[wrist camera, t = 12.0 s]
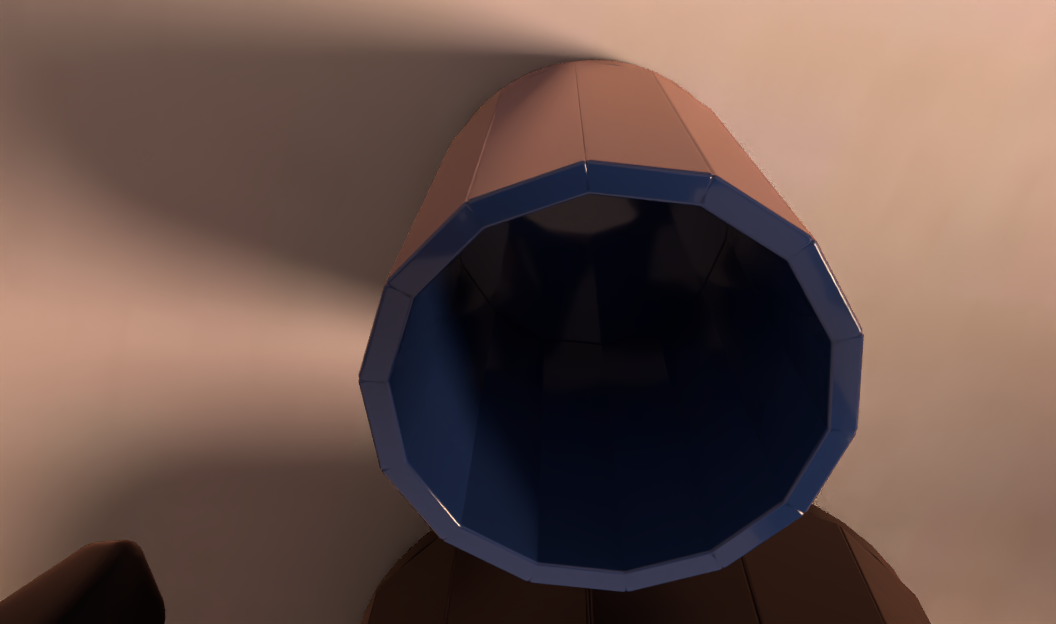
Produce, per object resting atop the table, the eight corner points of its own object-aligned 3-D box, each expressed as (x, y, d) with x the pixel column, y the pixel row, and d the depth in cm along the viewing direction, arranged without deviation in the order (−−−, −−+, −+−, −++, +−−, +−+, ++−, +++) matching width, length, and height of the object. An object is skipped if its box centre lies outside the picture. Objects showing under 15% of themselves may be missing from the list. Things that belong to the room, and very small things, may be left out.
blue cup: (805, 211, 15) (969, 405, 9) (582, 396, 17) (595, 656, 11) (596, -17, 13) (627, 36, 7) (376, 215, 15) (261, 406, 9)
